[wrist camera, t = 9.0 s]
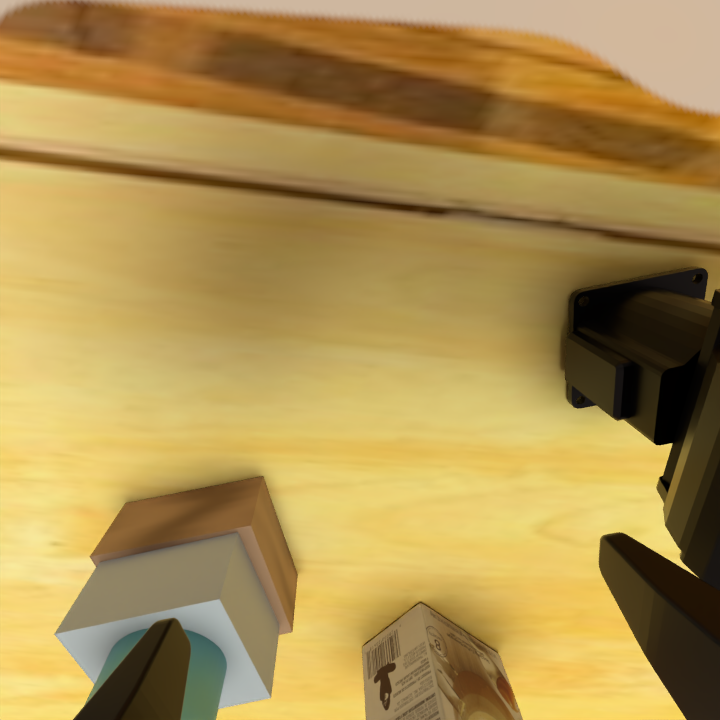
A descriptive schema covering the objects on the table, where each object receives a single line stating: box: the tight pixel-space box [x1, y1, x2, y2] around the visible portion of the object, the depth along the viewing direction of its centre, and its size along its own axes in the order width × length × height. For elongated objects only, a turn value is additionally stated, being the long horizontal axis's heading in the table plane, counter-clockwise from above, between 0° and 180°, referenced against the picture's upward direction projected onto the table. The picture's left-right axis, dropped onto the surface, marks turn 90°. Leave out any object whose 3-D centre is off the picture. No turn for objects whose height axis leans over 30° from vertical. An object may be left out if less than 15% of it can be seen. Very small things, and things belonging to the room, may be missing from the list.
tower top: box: [55, 532, 280, 709], centre depth 20 cm, size 7×7×4 cm
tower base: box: [90, 476, 298, 635], centre depth 23 cm, size 8×8×4 cm
